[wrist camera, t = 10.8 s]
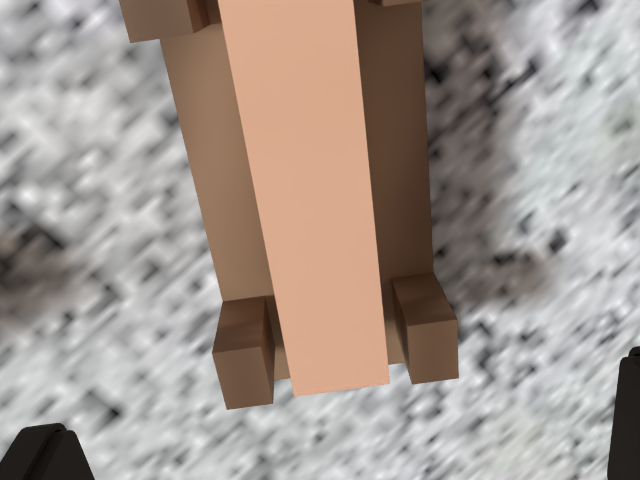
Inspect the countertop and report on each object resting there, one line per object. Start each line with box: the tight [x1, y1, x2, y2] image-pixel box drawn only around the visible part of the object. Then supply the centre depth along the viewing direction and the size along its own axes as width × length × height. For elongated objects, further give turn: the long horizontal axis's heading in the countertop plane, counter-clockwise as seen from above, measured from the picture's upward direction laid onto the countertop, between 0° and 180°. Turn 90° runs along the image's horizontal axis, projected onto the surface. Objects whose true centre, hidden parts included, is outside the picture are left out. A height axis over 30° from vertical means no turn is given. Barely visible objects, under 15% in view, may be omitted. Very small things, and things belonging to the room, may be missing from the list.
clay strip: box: [218, 0, 390, 397], centre depth 21 cm, size 4×16×4 cm, turn 7°
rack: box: [119, 0, 459, 410], centre depth 22 cm, size 10×22×6 cm, turn 7°
